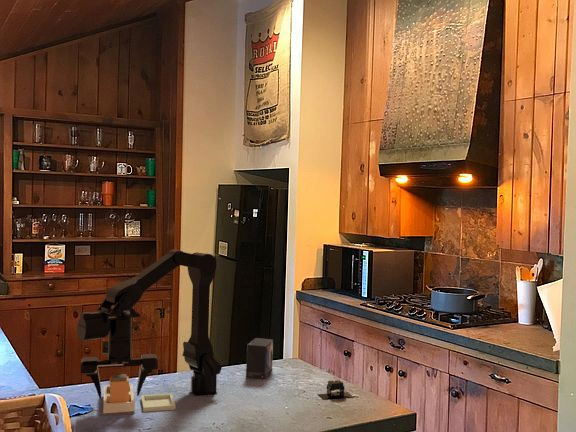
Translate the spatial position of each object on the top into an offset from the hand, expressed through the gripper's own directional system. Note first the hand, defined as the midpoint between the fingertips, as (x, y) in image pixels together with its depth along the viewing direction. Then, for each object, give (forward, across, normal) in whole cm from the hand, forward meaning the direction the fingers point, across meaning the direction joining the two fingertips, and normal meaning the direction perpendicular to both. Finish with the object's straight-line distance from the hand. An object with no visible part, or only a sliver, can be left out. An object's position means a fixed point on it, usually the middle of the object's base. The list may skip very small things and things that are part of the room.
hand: (119, 396), depth 155 cm
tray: (+4, -10, -2) cm, 11 cm away
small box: (+4, -44, -26) cm, 51 cm away
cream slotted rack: (+4, 0, -4) cm, 6 cm away
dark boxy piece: (+5, -59, 0) cm, 59 cm away
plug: (+3, 0, 0) cm, 3 cm away
